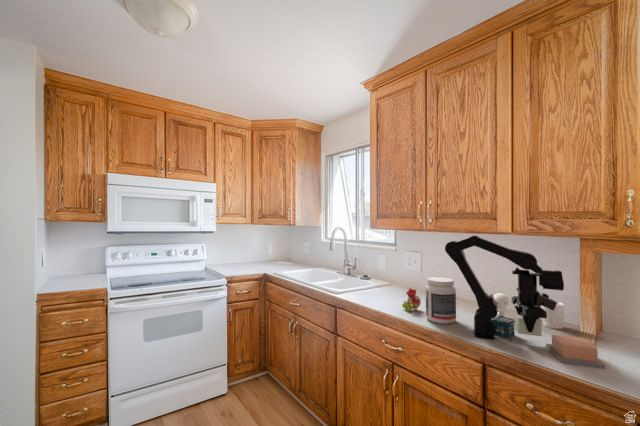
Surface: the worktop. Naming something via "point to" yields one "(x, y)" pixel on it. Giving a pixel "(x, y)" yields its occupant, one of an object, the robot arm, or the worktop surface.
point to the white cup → (554, 316)
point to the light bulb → (501, 303)
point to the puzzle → (504, 327)
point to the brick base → (575, 351)
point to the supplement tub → (440, 300)
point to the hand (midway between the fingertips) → (527, 329)
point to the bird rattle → (412, 300)
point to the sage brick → (522, 328)
